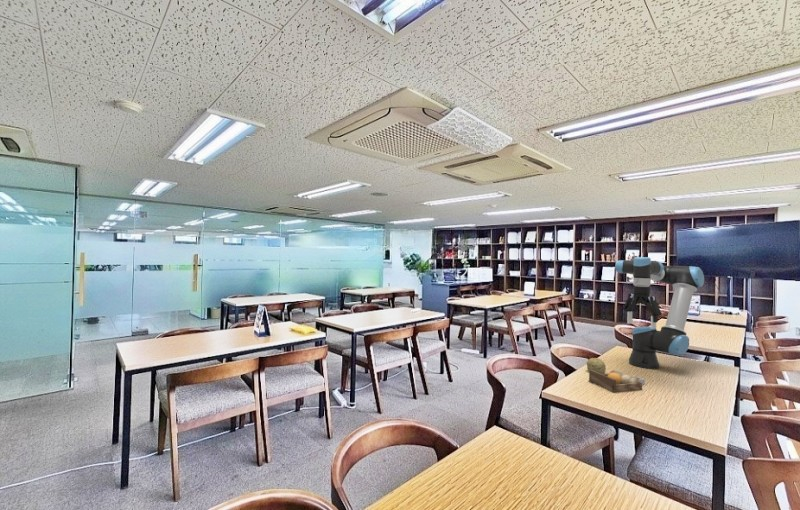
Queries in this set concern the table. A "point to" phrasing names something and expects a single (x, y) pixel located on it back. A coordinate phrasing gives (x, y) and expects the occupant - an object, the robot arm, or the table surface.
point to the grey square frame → (640, 379)
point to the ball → (615, 377)
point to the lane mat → (608, 389)
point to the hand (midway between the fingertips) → (641, 325)
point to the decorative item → (596, 365)
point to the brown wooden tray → (610, 383)
